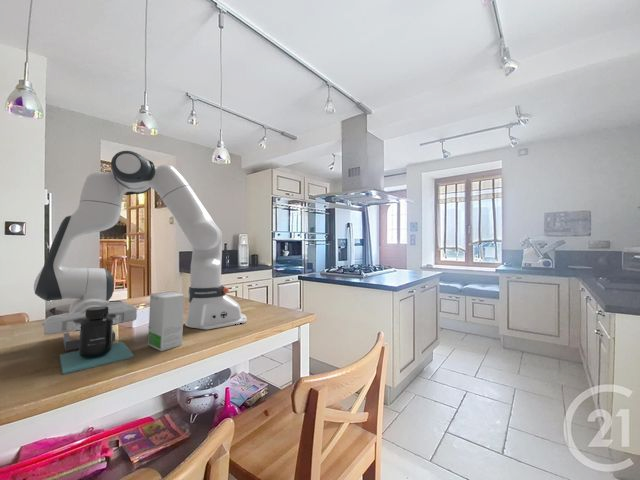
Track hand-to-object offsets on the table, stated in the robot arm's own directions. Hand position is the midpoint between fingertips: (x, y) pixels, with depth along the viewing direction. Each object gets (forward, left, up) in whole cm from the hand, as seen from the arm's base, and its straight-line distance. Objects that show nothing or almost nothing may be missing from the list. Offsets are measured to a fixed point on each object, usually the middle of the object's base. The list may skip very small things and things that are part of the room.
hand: (97, 324), depth 73 cm
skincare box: (-16, -3, -9) cm, 19 cm away
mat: (0, -1, -9) cm, 9 cm away
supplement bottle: (0, -1, -8) cm, 8 cm away
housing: (+6, -17, -9) cm, 20 cm away
